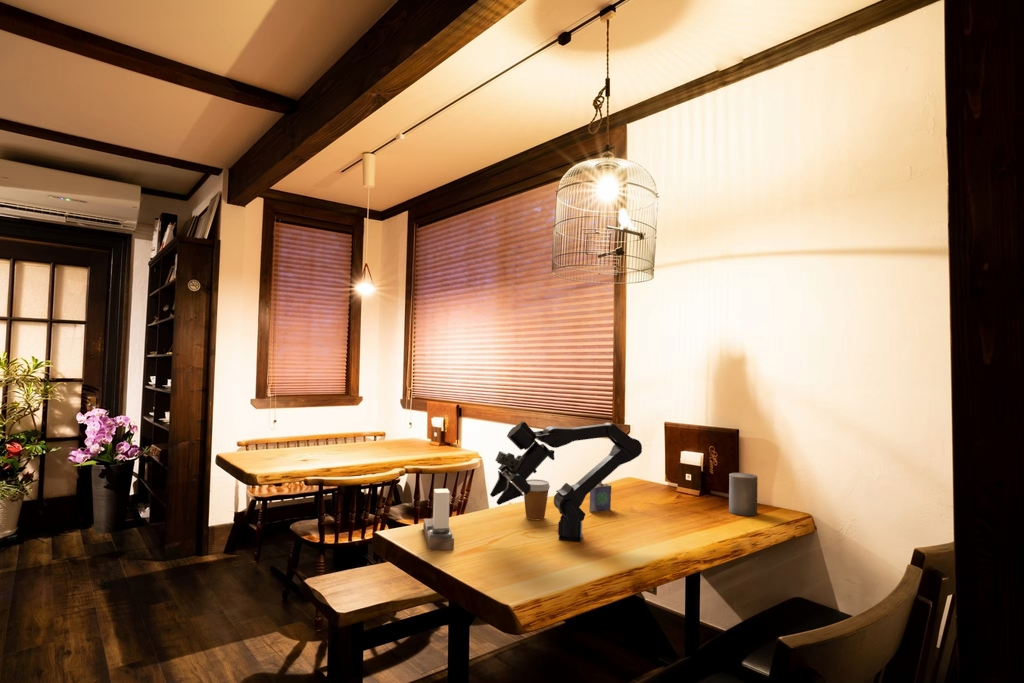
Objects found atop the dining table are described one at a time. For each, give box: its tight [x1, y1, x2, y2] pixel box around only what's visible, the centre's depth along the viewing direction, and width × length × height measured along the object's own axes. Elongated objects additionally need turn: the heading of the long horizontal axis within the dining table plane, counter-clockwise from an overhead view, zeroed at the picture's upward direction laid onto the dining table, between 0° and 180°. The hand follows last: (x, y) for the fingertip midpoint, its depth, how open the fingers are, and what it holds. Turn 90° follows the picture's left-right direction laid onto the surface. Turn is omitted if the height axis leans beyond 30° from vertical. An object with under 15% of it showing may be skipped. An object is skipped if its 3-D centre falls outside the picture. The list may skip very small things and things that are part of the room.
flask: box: [588, 482, 612, 514], centre depth 205 cm, size 9×3×11 cm, turn 121°
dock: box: [423, 518, 455, 552], centre depth 169 cm, size 7×21×4 cm, turn 13°
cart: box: [432, 488, 451, 534], centre depth 164 cm, size 5×6×12 cm
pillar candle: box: [728, 471, 758, 517], centre depth 208 cm, size 10×10×15 cm
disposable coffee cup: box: [523, 478, 551, 520], centre depth 194 cm, size 10×10×12 cm
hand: (494, 499), depth 168 cm, fingers open, 9 cm apart
